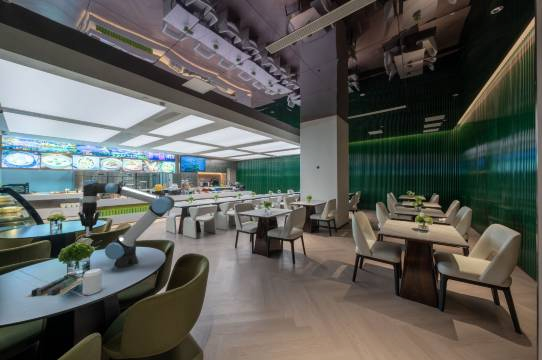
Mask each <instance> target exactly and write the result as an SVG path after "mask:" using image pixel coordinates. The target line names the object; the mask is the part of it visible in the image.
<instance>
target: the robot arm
mask: <svg viewBox="0 0 542 360" xmlns="http://www.w3.org/2000/svg"><path fill="white" fill-rule="evenodd" d="M82 190H83V191H82V209H81V211H80V212H77V214H78V216H79V220H80V224H81V226H82V227H84V232H86V233H85V237H91V236H92V232H93V230H94V229H93V228H94V226H97V222H98V221H99V220H98V219H99V217H100V215H101V213H102V212H101V211H98V208H97V207H98V194H105V195H106V194H109V195H113V194H117V195H120V196H123V197H127V198H131V199H135V200H138V201H141V202H145V203H149V204H151V205H149V206H148V210H147V211H146V212H145V213H144V214H143V215H142V216H141V217H140V218H139V219H138V220H136V222H135V223H134V224H133V225H132V226H131V227H129V229H127V231H126V232H125V233H124V234H120V235H119V236H117V238H116V239H114V240H113V241H112V242H110V243H108V244H107V246H106V247H105V248H104V254H105V256H106V257H107V259H111V260H115V262H114V265H113V266H114V268H127V267H128V268H129V267H131V266H135V264H137V263H138V264H139V259H138V256H137V240H138V239H139V237H140V236H141V235H143V234H144V232H145V231H146V230H148V228H150V226H152V224H154V222H156V220H158V219H159V218H162V217H164V216H165V215H166V214H167V212H169V211H171V210H172V209H174V206H175V204H176V203H175V200H174V198H173V197H172V196H169V195H168V196H167V195H162V194H159V195H158V194H155V193H151V192H149V191H145V190H140V189H139V188H138V189H136V188H134V187H131V186H127V185H123V184H122V183H118V182H117V183H113V182H99V181H98V180H95V179H92V180H90V179H85V180H84V181H83V186H82ZM138 264H137V265H138Z"/></svg>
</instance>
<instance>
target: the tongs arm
mask: <svg viewBox="0 0 542 360" xmlns="http://www.w3.org/2000/svg"><path fill="white" fill-rule="evenodd" d="M76 274H77V272H70V273H68V274H65V275H64V276H63V277H59V278H57V279H55V280H53V281H51V282H50V283H48V284H45V285H43V286H40V287H37V288H34V289H32V290H31V293H30V294H31V296H36V297H39V296H38V295H42V294H44V293H46V292H48V289H50V288H52V287H54V286H56V285H58V284H59V283H61V282H63V281H65V280H66V279H68V278H69V276H73V275H75V276H76Z"/></svg>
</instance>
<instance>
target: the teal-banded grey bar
mask: <svg viewBox="0 0 542 360" xmlns="http://www.w3.org/2000/svg"><path fill="white" fill-rule="evenodd" d="M77 279H78V275H76V274H75V275H73V276H68V279H66V280H65V281H63V282H61V283H59V284H58V285H56V286H54V287H52V288H50V289H48V293H47V296H48V295H49V296H58V295H57V294H58V293H60V291H61V290H62V289H64V288H66V287H68V286H69V285H71V284H73V283H74V282H76V281H77ZM47 296H46V297H47Z"/></svg>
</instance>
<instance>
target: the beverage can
mask: <svg viewBox="0 0 542 360" xmlns="http://www.w3.org/2000/svg"><path fill="white" fill-rule="evenodd" d="M102 275H103V272H102V269H101V268H92V269H89V270H86V271H85V272H84V274H83V275H82V278H83V282H82V294H84V296H91V295H95V294H98V293H99V292H100V291H101V290H102V280H103V279H102V277H103V276H102Z"/></svg>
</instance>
